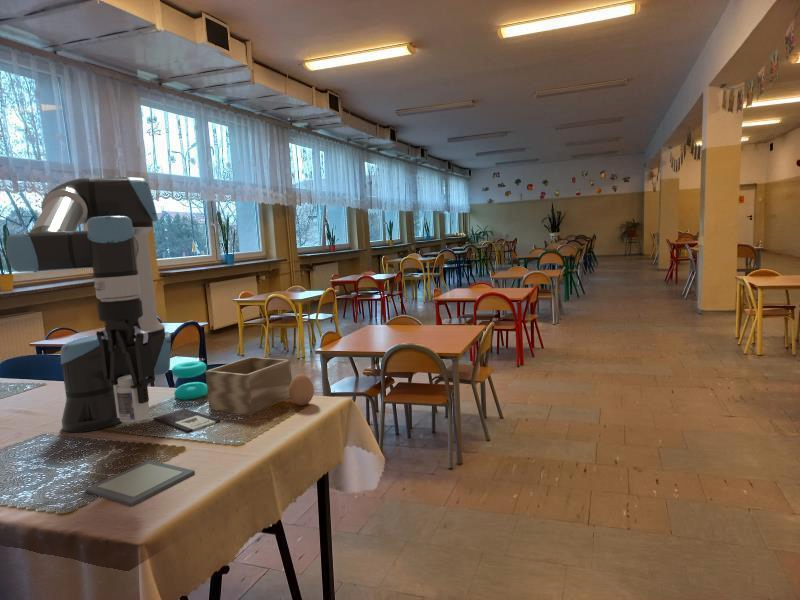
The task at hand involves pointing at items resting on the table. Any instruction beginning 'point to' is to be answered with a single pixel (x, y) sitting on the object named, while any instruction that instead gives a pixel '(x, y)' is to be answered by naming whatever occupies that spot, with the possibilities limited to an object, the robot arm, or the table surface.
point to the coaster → (140, 482)
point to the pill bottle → (125, 399)
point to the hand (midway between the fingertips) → (133, 417)
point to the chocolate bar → (186, 420)
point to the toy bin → (248, 384)
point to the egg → (301, 390)
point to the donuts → (192, 388)
